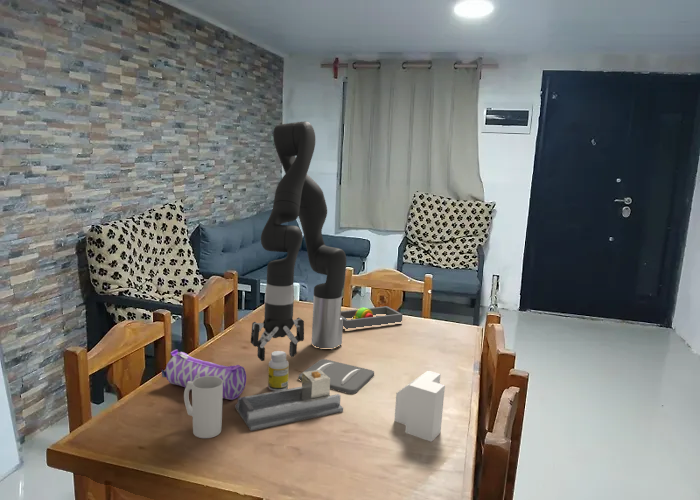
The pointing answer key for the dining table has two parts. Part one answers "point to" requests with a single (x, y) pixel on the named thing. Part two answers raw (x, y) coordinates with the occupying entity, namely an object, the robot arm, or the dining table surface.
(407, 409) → the white notched block
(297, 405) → the rail tray
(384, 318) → the gray rectangular tray
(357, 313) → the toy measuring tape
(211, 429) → the mug
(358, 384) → the grey flat block
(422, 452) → the dining table surface
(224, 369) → the pencil case
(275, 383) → the supplement bottle
